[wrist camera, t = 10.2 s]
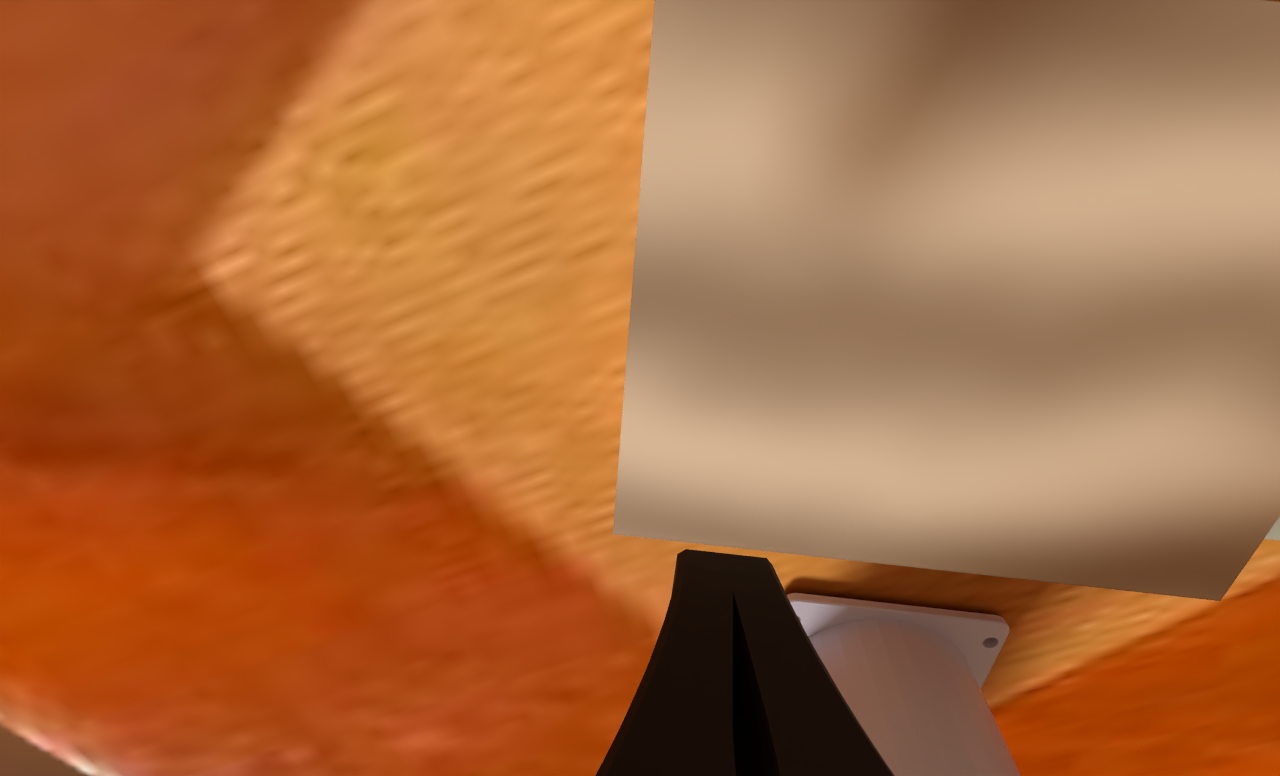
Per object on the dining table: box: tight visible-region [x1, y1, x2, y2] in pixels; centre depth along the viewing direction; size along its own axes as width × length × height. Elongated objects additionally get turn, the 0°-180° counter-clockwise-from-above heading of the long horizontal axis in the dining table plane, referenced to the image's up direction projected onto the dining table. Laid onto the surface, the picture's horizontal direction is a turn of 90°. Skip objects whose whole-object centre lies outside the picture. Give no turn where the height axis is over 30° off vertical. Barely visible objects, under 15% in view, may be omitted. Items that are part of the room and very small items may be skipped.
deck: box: [613, 0, 1280, 601], centre depth 15 cm, size 13×16×4 cm
